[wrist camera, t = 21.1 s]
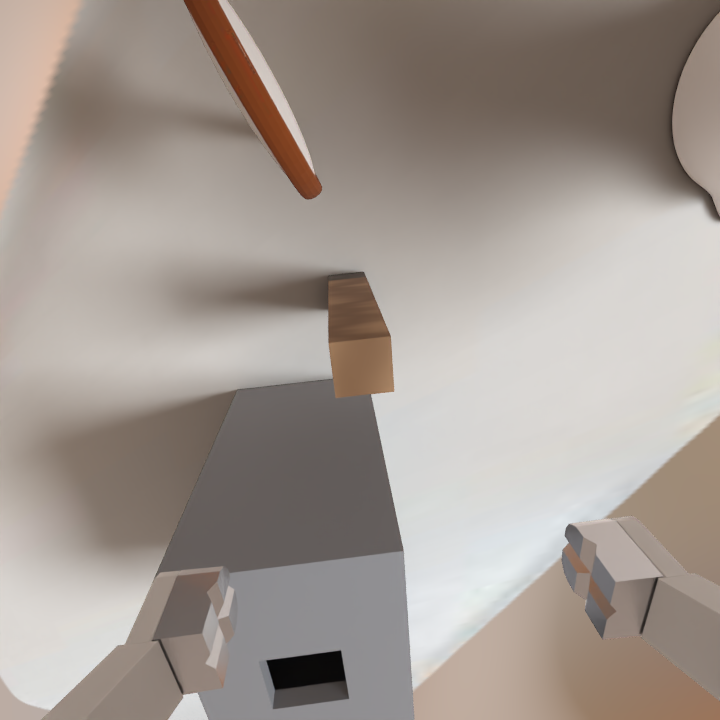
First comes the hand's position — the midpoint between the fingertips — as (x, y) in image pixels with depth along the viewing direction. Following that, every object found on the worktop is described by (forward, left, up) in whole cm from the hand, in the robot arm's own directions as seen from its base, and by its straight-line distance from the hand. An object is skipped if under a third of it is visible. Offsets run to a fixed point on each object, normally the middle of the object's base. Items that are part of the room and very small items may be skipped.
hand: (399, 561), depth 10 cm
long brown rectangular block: (0, 0, -27) cm, 27 cm away
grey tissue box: (+5, +17, -27) cm, 33 cm away
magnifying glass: (+3, -12, -28) cm, 30 cm away
